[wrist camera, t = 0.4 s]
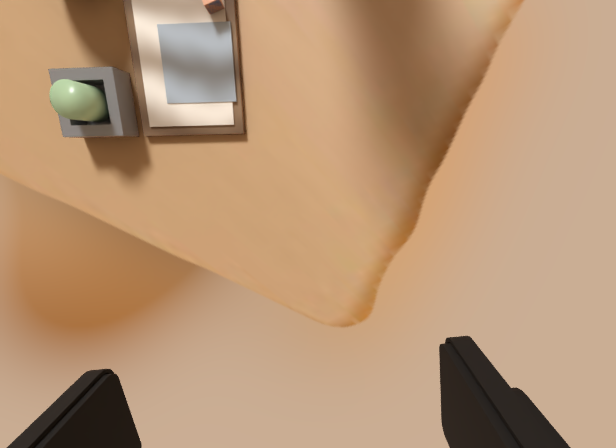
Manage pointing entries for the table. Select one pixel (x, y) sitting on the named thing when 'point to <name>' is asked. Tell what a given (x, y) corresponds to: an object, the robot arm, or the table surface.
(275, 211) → the table surface
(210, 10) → the marker
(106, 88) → the button box
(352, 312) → the table surface
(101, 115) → the button
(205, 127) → the picture frame
